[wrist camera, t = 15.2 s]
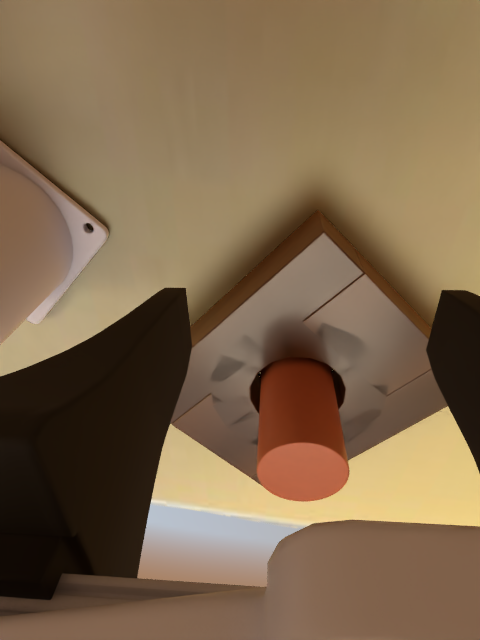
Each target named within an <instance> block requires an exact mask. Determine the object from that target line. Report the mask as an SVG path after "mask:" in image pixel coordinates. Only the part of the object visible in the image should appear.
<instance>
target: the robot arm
mask: <svg viewBox="0 0 480 640" xmlns="http://www.w3.org/2000/svg"><path fill="white" fill-rule="evenodd" d="M86 223H89V224H91V225H92V226H93V229H94V230H93V231H91V230H89V229H88V228H87V226H86ZM108 237H109V232H108V229H107V228H106V227H105V226H104V225H103V224H102V223H100V222H99V221H98V220H97V219H96V218H94V217H93V216H92V215H91V214H90V213H88V212H87V211H86V210H85V209H83V208H82V207H81V206H80V205H79V204H77V203H76V202H75V201H74V200H72V199H71V198H70V197H69V196H68V195H66V194H65V193H64V192H63V191H61V190H60V189H59V188H58V187H57V186H55V185H54V184H53V183H52V182H50V181H49V180H48V179H47V178H46V177H44V176H43V175H42V174H41V173H40V172H38V171H37V170H36V169H35V168H33V167H32V166H31V165H30V164H29V163H27V162H26V161H25V160H24V159H22V158H21V157H20V156H19V155H18V154H16V153H15V152H14V151H13V150H11V149H10V148H9V147H8V146H7V145H5V144H4V143H3V142H2V141H0V345H1V344H2V343H3V342H4V341H5V340H6V339H7V338H8V337H9V336H10V335H11V334H12V333H13V332H14V331H15V330H16V329H17V328H18V327H19V325H20V324H21V323H22V322H23V321H24V320H25V319H26V320H27V321H29V322H30V323H32V324H39V323H40V322H41V321H42V320H43V319H44V318H45V317H46V315H47V314H48V313H49V312H50V310H51V309H52V308H53V307H54V305H55V304H56V303H57V302H58V300H59V299H60V298H61V297H62V295H63V294H64V293H65V292H66V290H67V289H68V288H69V287H70V285H71V284H72V283H73V282H74V280H75V279H76V278H77V277H78V275H79V274H80V273H81V272H82V270H83V269H84V268H85V267H86V265H87V264H88V263H89V262H90V260H91V259H92V258H93V257H94V255H95V254H96V253H97V252H98V250H99V249H100V248H101V247H102V245H103V244H104V243H105V242H106V240H107V239H108ZM191 349H192V339H191V331H190V322H189V313H188V305H187V296H186V288H164V289H162V290H161V291H159V292H158V293H156V294H155V295H153V296H152V297H151V298H149V299H148V300H147V301H145V302H144V303H143V304H141V305H140V306H138V307H137V308H136V309H134V310H133V311H131V312H130V313H129V314H127V315H126V316H124V317H123V318H121V319H120V320H118V321H117V322H115V323H114V324H112V325H111V326H109V327H107V328H106V329H104V330H103V331H101V332H100V333H98V334H96V335H95V336H93V337H91V338H89V339H88V340H86V341H84V342H82V343H80V344H78V345H76V346H74V347H72V348H70V349H68V350H66V351H64V352H62V353H60V354H58V355H55V356H53V357H50V358H48V359H46V360H43V361H41V362H39V363H36V364H34V365H32V366H29V367H27V368H24V369H21V370H18V371H16V372H13V373H10V374H7V375H4V376H1V377H0V640H480V527H477V526H459V525H440V524H421V523H403V522H384V521H365V520H345V521H335V522H324V523H314V524H311V525H309V526H307V527H305V528H303V529H301V530H299V531H297V532H295V533H293V534H291V535H289V536H287V537H285V538H284V539H282V540H281V541H280V542H279V543H278V545H277V546H276V548H275V550H274V552H273V554H272V556H271V558H270V559H269V561H268V572H267V575H268V576H267V587H255V586H241V585H225V584H211V583H196V582H182V581H166V580H152V579H138V578H137V574H138V569H139V563H140V557H141V551H142V545H143V540H144V534H145V528H146V524H147V518H148V513H149V508H150V503H151V498H152V493H153V488H154V483H155V478H156V474H157V469H158V465H159V460H160V456H161V451H162V447H163V444H164V440H165V437H166V433H167V431H168V428H169V425H170V422H171V419H172V416H173V413H174V410H175V407H176V404H177V402H178V399H179V396H180V393H181V390H182V387H183V384H184V381H185V378H186V375H187V371H188V366H189V361H190V355H191ZM426 352H427V355H428V359H429V362H430V366H431V369H432V372H433V375H434V378H435V380H436V382H437V384H438V387H439V389H440V391H441V393H442V395H443V397H444V399H445V401H446V403H447V405H448V407H449V409H450V411H451V413H452V415H453V416H454V418H455V420H456V422H457V424H458V426H459V428H460V430H461V432H462V434H463V436H464V438H465V440H466V442H467V444H468V446H469V448H470V451H471V453H472V455H473V457H474V459H475V462H476V464H477V467H478V470H479V473H480V296H478V295H476V294H473V293H471V292H468V291H465V290H442V292H441V296H440V300H439V303H438V307H437V311H436V314H435V318H434V322H433V326H432V329H431V333H430V337H429V341H428V344H427V348H426Z"/></svg>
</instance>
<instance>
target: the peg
mask: <svg viewBox="0 0 480 640" xmlns="http://www.w3.org/2000/svg"><path fill="white" fill-rule="evenodd" d="M257 476H258V479H259V481H260V483H261V484H262V485H263V487H264V488H266V489H267V490H268V491H269V492H271V493H272V494H274V495H276V496H278V497H281V498H284V499H288V500H293V501H314V500H319V499H323V498H326V497H329V496H331V495H333V494H335V493H336V492H338V491H339V490H340V489H341V488H342V487H343V486H344V485H345V484H346V482H347V480H348V477H349V465H348V460H347V454H346V449H345V443H344V438H343V432H342V427H341V421H340V416H339V410H338V405H337V399H336V393H335V388H334V382H333V377H332V371H331V367H330V366H329V365H328V364H326V363H323V362H320V361H317V360H314V359H312V358H305V357H288V358H284V359H281V360H278V361H275V362H271V363H270V364H269V365H267V366H266V367H265V368H263V369H262V370H261V389H260V410H259V431H258V451H257Z"/></svg>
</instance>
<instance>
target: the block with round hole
mask: <svg viewBox="0 0 480 640" xmlns="http://www.w3.org/2000/svg"><path fill="white" fill-rule="evenodd" d="M431 329H432V328H431V327H429V325H428V324H427V323H426V322H425V321H424V320H423V319H422V318H421V317H420V316H419V315H418V314H417V313H416V312H415V311H414V309H413V308H412V307H411V306H410V305H409V304H408V303H407V302H406V301H405V300H404V299H403V298H402V297H401V296H400V295H399V294H398V293H397V292H396V291H395V290H394V289H393V287H392V286H391V285H390V284H389V283H388V282H387V281H386V280H385V279H384V278H383V277H382V276H381V275H380V274H379V273H378V272H377V271H376V270H375V269H374V268H373V266H372V265H371V264H370V263H369V262H368V261H367V260H366V259H365V258H364V257H363V256H362V255H361V254H360V253H359V252H358V251H357V250H356V249H355V248H354V247H353V246H352V245H351V244H350V242H349V241H348V240H347V239H346V238H345V237H344V236H343V235H342V234H341V233H340V232H339V231H338V230H337V229H336V228H335V227H334V226H333V225H332V224H331V223H330V221H329V220H328V219H327V218H326V217H325V216H324V215H323V214H322V213H321V212H320V211H319V210H317V211H316V212H315V213H314V214H313V215H312V216H310V217H309V218H308V219H307V220H306V221H305V222H304V223H303V224H302V225H301V226H300V227H299V228H297V229H296V230H295V231H294V232H293V233H292V234H291V235H290V236H289V237H288V238H287V239H285V240H284V241H283V242H282V243H281V244H280V245H279V246H278V247H277V248H276V249H275V250H274V251H272V252H271V253H270V254H269V255H268V256H267V257H266V258H265V259H264V260H263V261H262V262H260V263H259V264H258V265H257V266H256V267H255V268H254V269H253V270H252V271H251V272H250V273H249V274H247V275H246V276H245V277H244V278H243V279H242V280H241V281H240V282H239V283H238V284H237V285H236V286H234V287H233V288H232V289H231V290H230V291H229V292H228V293H227V294H226V295H225V296H224V297H222V298H221V299H220V300H219V301H218V302H217V303H216V304H215V305H214V306H213V307H212V308H211V309H209V310H208V311H207V312H206V313H205V314H204V315H203V316H202V317H201V318H200V319H199V320H197V321H196V322H195V323H194V324H193V325H192V326H191V327H190V331H191V339H192V349H191V355H190V361H189V366H188V371H187V375H186V378H185V381H184V384H183V387H182V390H181V393H180V396H179V399H178V402H177V404H176V407H175V410H174V413H173V416H172V419H171V422H170V424H172V425H173V426H175V427H176V428H178V429H179V430H181V431H182V432H184V433H185V434H187V435H188V436H190V437H191V438H192V439H194V440H195V441H197V442H198V443H200V444H201V445H203V446H204V447H206V448H207V449H209V450H210V451H212V452H213V453H215V454H216V455H218V456H219V457H221V458H222V459H224V460H225V461H227V462H228V463H230V464H231V465H233V466H234V467H236V468H237V469H239V470H240V471H241V472H243V473H244V474H246V475H247V476H249V477H251V478H252V479H253V480H255V481H256V482H258V483H259V484H261V483H260V481H259V479H258V476H257V451H258V431H259V410H260V389H261V379H260V378H259V376H258V374H257V373H258V372H259V371H261V370H262V369H263V368H265V367H266V366H267V365H269V364H270V363H271V362H275V361H278V360H281V359H284V358H288V357H305V358H312V359H314V360H317V361H320V362H323V363H326V364H328V365H329V366H330V367H331V368H332V369H333V370H335V371H334V373H333V374H332V377H333V382H334V388H335V393H336V399H337V405H338V410H339V416H340V421H341V427H342V432H343V438H344V443H345V449H346V454H347V460H350V459H352V458H353V457H355V456H357V455H359V454H361V453H363V452H364V451H366V450H368V449H370V448H372V447H374V446H375V445H377V444H379V443H381V442H383V441H385V440H386V439H388V438H390V437H392V436H394V435H396V434H397V433H399V432H401V431H403V430H405V429H407V428H408V427H410V426H412V425H414V424H416V423H418V422H419V421H421V420H423V419H425V418H427V417H428V416H430V415H432V414H434V413H436V412H438V411H439V410H441V409H443V408H445V407H447V406H448V405H447V403H446V401H445V399H444V397H443V395H442V393H441V391H440V389H439V387H438V384H437V382H436V380H435V378H434V375H433V372H432V369H431V366H430V362H429V359H428V355H427V352H426V348H427V344H428V341H429V337H430V333H431ZM261 485H262V484H261ZM262 486H263V485H262Z"/></svg>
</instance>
